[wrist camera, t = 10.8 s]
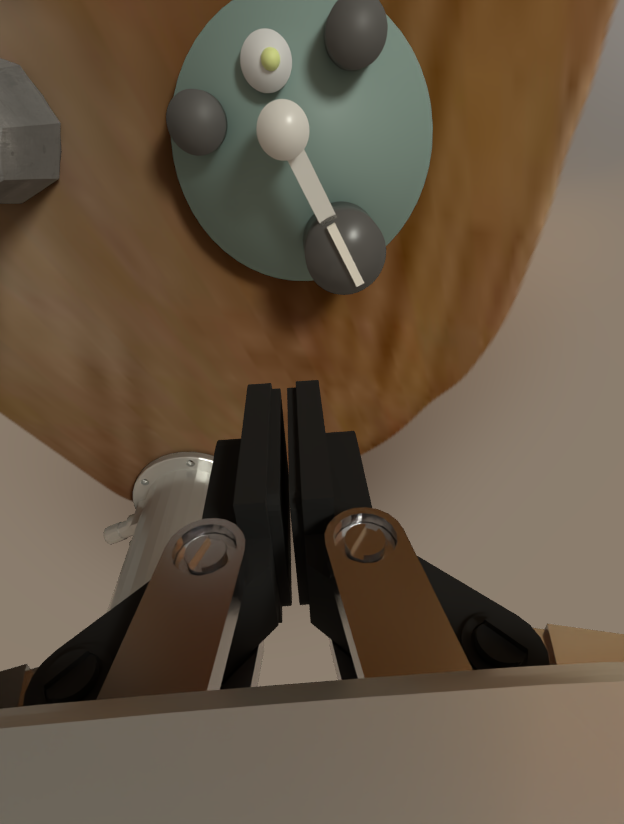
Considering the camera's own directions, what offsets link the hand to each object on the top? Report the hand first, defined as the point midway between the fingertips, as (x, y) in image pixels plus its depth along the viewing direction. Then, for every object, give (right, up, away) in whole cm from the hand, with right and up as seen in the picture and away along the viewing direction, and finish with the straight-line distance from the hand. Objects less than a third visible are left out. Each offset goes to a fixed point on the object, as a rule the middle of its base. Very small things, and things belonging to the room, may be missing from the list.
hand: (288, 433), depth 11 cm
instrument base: (0, +19, +22) cm, 29 cm away
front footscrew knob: (+1, +16, +22) cm, 28 cm away
